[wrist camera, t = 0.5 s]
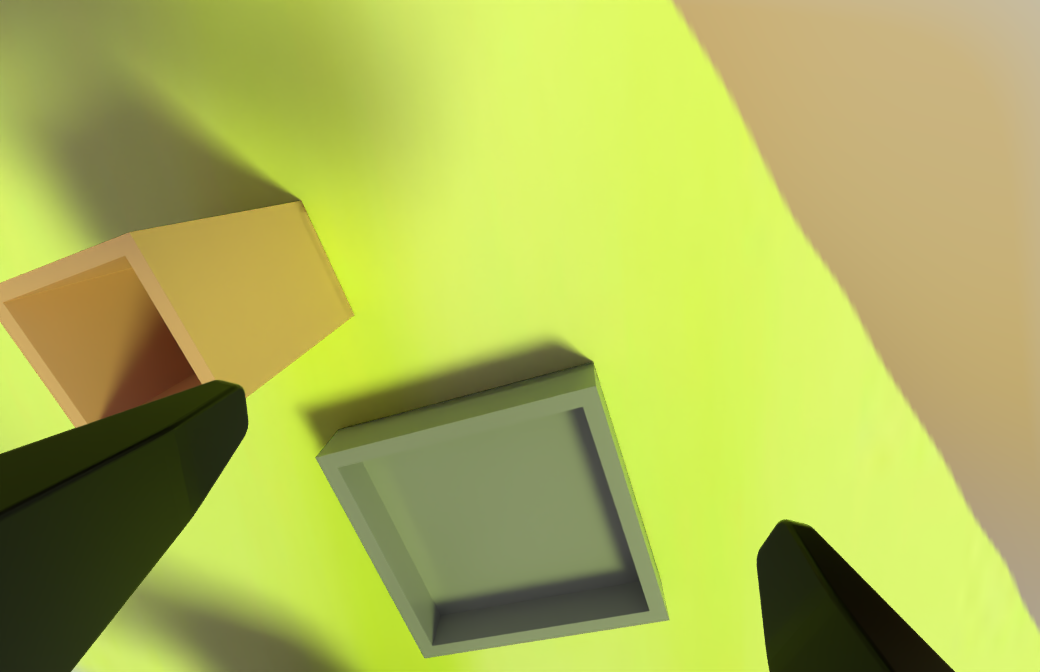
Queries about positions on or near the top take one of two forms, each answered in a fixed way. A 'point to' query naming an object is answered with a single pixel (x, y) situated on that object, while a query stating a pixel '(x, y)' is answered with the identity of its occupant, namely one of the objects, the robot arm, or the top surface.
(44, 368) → the terracotta cup
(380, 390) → the top surface
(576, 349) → the top surface
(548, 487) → the tray
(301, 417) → the top surface
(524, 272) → the top surface
